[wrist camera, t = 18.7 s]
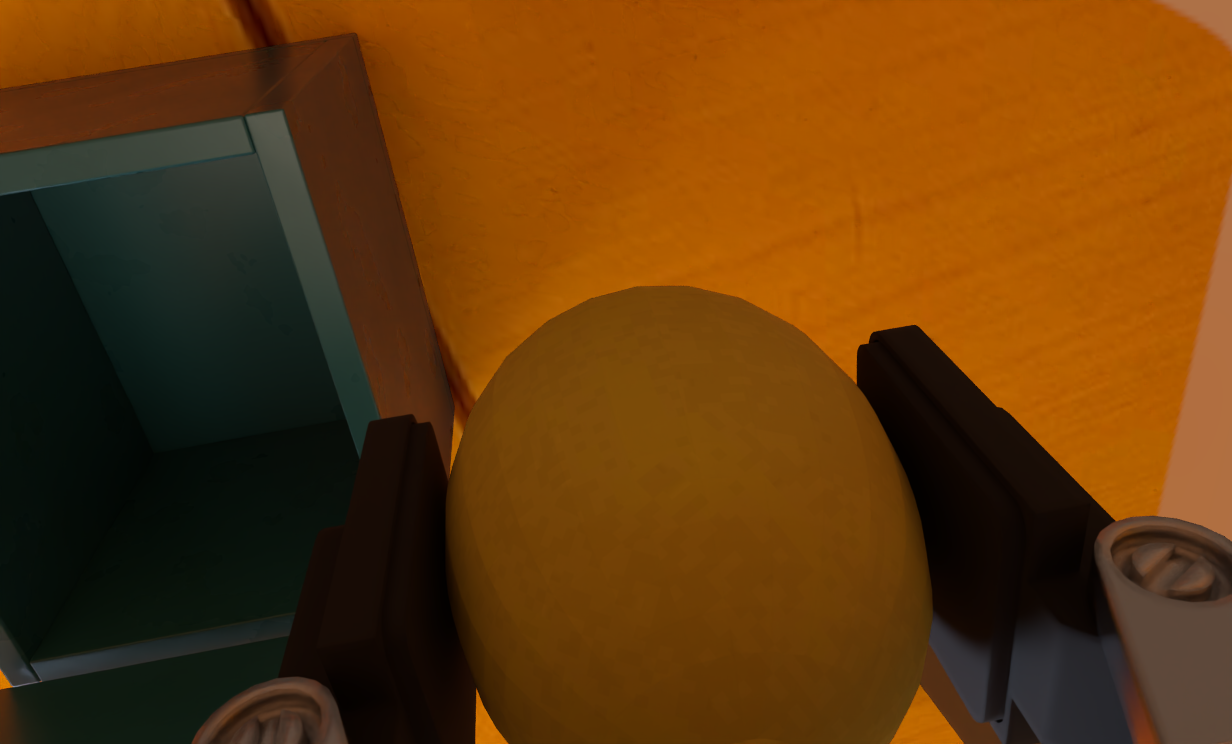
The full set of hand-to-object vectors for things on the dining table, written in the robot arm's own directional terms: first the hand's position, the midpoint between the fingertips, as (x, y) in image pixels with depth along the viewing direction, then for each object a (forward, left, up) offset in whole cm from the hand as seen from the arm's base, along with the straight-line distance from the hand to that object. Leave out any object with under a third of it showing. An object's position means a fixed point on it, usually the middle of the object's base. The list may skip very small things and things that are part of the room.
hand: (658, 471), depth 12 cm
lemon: (0, 0, -3) cm, 3 cm away
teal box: (+6, -10, -20) cm, 23 cm away
